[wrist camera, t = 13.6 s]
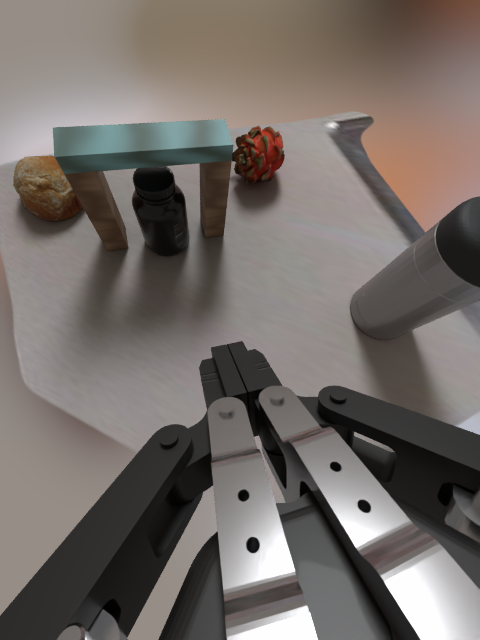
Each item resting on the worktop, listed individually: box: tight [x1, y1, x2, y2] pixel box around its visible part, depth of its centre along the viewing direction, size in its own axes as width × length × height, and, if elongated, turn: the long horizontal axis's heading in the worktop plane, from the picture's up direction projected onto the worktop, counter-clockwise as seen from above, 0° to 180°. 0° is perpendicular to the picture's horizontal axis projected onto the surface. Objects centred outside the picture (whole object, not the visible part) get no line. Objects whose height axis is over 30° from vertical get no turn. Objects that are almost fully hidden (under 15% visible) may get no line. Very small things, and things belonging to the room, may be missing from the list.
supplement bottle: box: [132, 166, 189, 256], centre depth 38 cm, size 7×7×12 cm
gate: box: [53, 119, 233, 251], centre depth 37 cm, size 18×4×16 cm, turn 104°
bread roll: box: [13, 156, 83, 221], centre depth 42 cm, size 10×10×8 cm
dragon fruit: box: [232, 126, 284, 184], centre depth 48 cm, size 8×8×12 cm
